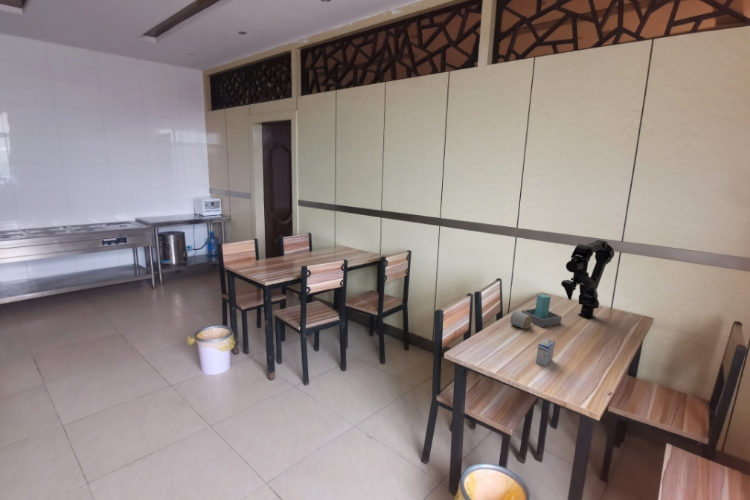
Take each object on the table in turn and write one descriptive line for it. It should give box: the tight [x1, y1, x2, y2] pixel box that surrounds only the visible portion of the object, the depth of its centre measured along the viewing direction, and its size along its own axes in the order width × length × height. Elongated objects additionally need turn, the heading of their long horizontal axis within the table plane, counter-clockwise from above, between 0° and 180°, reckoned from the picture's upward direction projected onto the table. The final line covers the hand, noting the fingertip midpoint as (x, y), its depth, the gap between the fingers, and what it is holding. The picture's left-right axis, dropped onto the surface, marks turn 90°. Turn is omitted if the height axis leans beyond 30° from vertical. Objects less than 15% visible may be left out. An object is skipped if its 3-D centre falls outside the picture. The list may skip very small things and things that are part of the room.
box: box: [521, 307, 563, 328], centre depth 206 cm, size 14×14×4 cm
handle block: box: [535, 293, 552, 319], centre depth 205 cm, size 4×4×13 cm
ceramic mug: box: [509, 309, 532, 330], centre depth 197 cm, size 11×8×8 cm
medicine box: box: [535, 337, 556, 367], centre depth 162 cm, size 8×4×9 cm, turn 141°
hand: (575, 298), depth 203 cm, fingers open, 9 cm apart
